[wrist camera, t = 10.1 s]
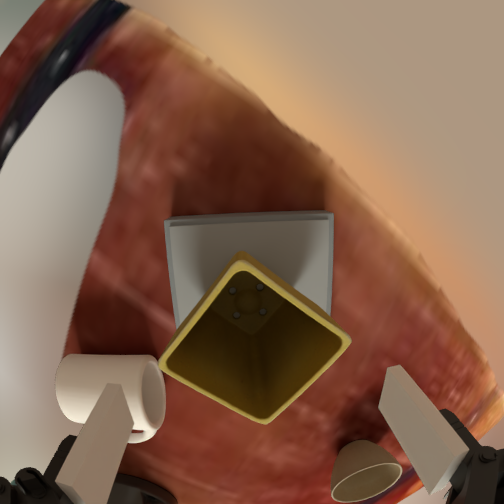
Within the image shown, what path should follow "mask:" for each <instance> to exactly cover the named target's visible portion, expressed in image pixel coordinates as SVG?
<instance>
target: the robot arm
mask: <svg viewBox="0 0 504 504" xmlns="http://www.w3.org/2000/svg"><path fill="white" fill-rule="evenodd" d="M378 408H379V410H380V411H381V413H382V415H383V416H384V418H385V420H386V421H387V423H388V425H389V426H390V428H391V430H392V431H393V433H394V435H395V436H396V438H397V440H398V442H399V443H400V445H401V447H402V448H403V450H404V452H405V453H406V455H407V457H408V459H409V460H410V462H411V464H412V465H413V467H414V469H415V471H416V472H417V474H418V476H419V478H420V479H421V481H422V483H423V484H424V486H425V488H426V490H427V492H428V493H429V494H430V495H431V494H433V493H435V492H437V491H440V490H442V489H444V488H445V486H446V485H447V483H448V482H449V481H450V482H451V484H452V487H451V488H450V489H449V490H448V492H447V493H446V494H445V496H444V499H446V497H447V496H448V498H447V501H446V504H504V449H500V450H495V449H494V448H493V447H489V446H481V445H480V444H479V443H478V442H477V440H476V439H475V438H474V437H473V436H472V434H471V433H470V432H469V431H468V430H467V428H466V427H464V425H463V424H462V422H460V420H459V419H458V418H457V417H456V415H455V414H454V413H452V412H450V411H449V410H447V409H442V410H440V411H438V410H437V408H436V407H435V406H434V405H433V403H432V402H431V401H430V400H429V399H428V397H427V396H426V395H425V394H424V393H423V391H422V390H421V389H420V388H419V387H418V385H417V384H416V383H415V382H414V381H413V379H412V378H411V377H410V376H409V375H408V374H407V372H406V371H405V370H404V369H403V368H402V367H401V365H398V366H393V367H388V368H387V372H386V377H385V381H384V386H383V390H382V394H381V398H380V402H379V406H378ZM133 426H134V421H133V418H132V415H131V413H130V410H129V407H128V404H127V401H126V398H125V395H124V392H123V389H122V385H121V384H113V383H107V385H106V386H105V388H104V390H103V392H102V393H101V395H100V397H99V399H98V400H97V402H96V404H95V406H94V408H93V409H92V411H91V413H90V415H89V417H88V418H87V420H86V422H85V424H84V426H83V428H82V429H81V431H80V433H79V435H78V436H73V435H69V436H67V437H66V438H65V439H64V440H63V441H62V442H61V444H60V445H59V447H58V451H56V453H55V455H54V457H53V458H52V460H51V462H50V464H49V466H48V467H47V469H46V471H45V473H44V475H42V474H41V473H40V472H39V471H38V470H37V469H35V468H31V467H28V468H24V469H21V470H20V471H19V472H18V473H17V474H16V476H15V479H14V480H13V481H12V482H11V483H10V482H9V481H8V480H7V479H5V478H4V477H0V504H178V503H177V501H176V499H175V498H174V497H173V496H172V495H171V494H170V493H169V492H167V491H166V490H164V489H162V488H161V487H159V486H157V485H155V484H153V483H150V482H148V481H145V480H142V479H140V478H136V477H133V476H129V475H124V474H118V473H117V471H118V468H119V465H120V462H121V459H122V457H123V454H124V451H125V448H126V445H127V442H128V440H129V437H130V434H131V431H132V429H133Z"/></svg>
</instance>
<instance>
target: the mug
mask: <svg viewBox="0 0 504 504" xmlns="http://www.w3.org/2000/svg"><path fill="white" fill-rule="evenodd" d="M107 383H113V384H121V385H122V389H123V392H124V395H125V398H126V401H127V404H128V407H129V410H130V413H131V415H132V418H133V421H134V426H133V429H135V430H144V432H142V433H131V434H130V437H129V440H128V442H127V443H139V442H143V441H146V440H148V439H150V438H151V437H153V436H154V434H155V433H156V431H157V430H158V429H159V428H160V427H161V425H162V423H163V420H164V416H165V410H166V391H165V383H164V378H163V374H162V370H161V369H160V368H159V367H158V361H157V360H156V359H155V358H154V357H153V356H151V355H91V354H69V355H67V356H66V357H64V358H63V360H62V361H61V362H60V364H59V366H58V369H57V373H56V377H55V392H56V397H57V401H58V404H59V407H60V408H61V410H62V412H63V414H64V415H65V416H66V417H67V418H68V419H69V420H71V421H73V422H77V423H83V424H85V422H86V420H87V418H88V417H89V415H90V413H91V411H92V409H93V408H94V406H95V404H96V402H97V400H98V399H99V397H100V395H101V393H102V392H103V390H104V388H105V386H106V385H107Z"/></svg>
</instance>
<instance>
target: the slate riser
mask: <svg viewBox="0 0 504 504" xmlns="http://www.w3.org/2000/svg"><path fill="white" fill-rule="evenodd" d="M164 227H165V239H166V249H167V259H168V268H169V277H170V286H171V293H172V301H173V308H174V315H175V322H176V329H178V327H179V326H180V325H181V323H182V322H183V321H184V319H185V318H186V317H187V316H188V315H189V313H190V312H191V311H192V309H193V308H194V307H195V306H196V304H197V303H198V302H199V301H200V299H201V298H202V297H203V295H204V294H205V293H206V292H207V290H208V289H209V288H210V286H211V285H212V284H213V283H214V281H215V280H216V279H217V277H218V276H219V275H220V273H221V272H222V271H223V269H224V268H225V267H226V265H227V264H228V263H229V261H230V260H231V259H232V257H233V256H234V255H235V254H236V253H237V252H239V251H245V252H247V253H248V254H250V255H251V256H252V257H254V258H255V259H256V260H257V261H259V262H260V263H261V264H263V265H264V266H265V267H267V268H268V269H269V270H270V271H272V272H273V273H274V274H276V275H277V276H278V277H280V278H281V279H282V280H284V281H285V282H286V283H288V284H289V285H291V286H292V287H293V288H295V289H296V290H297V291H299V292H300V293H302V294H303V295H304V296H306V297H307V298H309V299H310V300H311V301H313V302H314V303H316V304H317V305H318V306H320V307H321V308H322V309H323V310H324V311H325V312H326V313H327V314H328V315H329V316H330V312H331V295H332V273H333V234H334V213H331V212H328V211H326V210H313V211H277V212H250V213H228V214H208V215H191V216H175V217H170V218H168V219H166V220H164ZM257 289H258V290H262V289H263V285H262V284H258V285H257ZM229 291H230V293H232V294H234V293H236V289H235V288H230V290H229ZM265 313H266V310H265V309H261V310H260V314H265ZM233 316H234V317H235V318H238V317H239V316H240V314H239V313H238V312H235V313H234V314H233Z"/></svg>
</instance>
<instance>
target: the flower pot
mask: <svg viewBox="0 0 504 504" xmlns="http://www.w3.org/2000/svg"><path fill="white" fill-rule="evenodd" d="M258 284H262V285H263V289H262V290H258V289H257V285H258ZM230 288H235V289H236V293H234V294H232V293H230V291H229V290H230ZM261 309H265V310H266V313H265V314H260V310H261ZM235 312H238V313H239V314H240V316H239V317H238V318H235V317H234V316H233V314H234V313H235ZM351 342H352V340H351V337H350V336H349V335H348V334H347V333H346V332H345V331H344V330H343V329H342V328H341V327H340V326H339V325H338V324H337V323H336V322H335V321H334V320H333V319H332V318H331V317H330V316H329V315H328V314H327V313H326V312H325V311H324V310H323V309H322V308H321V307H320V306H318V305H317V304H316V303H314V302H313V301H311V300H310V299H309V298H307V297H306V296H304V295H303V294H302V293H300V292H299V291H297V290H296V289H295V288H293V287H292V286H291V285H289V284H288V283H286V282H285V281H284V280H282V279H281V278H280V277H278V276H277V275H276V274H274V273H273V272H272V271H270V270H269V269H268V268H267V267H265V266H264V265H263V264H261V263H260V262H259V261H257V260H256V259H255V258H254V257H252V256H251V255H250V254H248V253H247V252H245V251H239V252H237V253H236V254H235V255H234V256H233V257H232V259H231V260H230V261H229V263H228V264H227V265H226V267H225V268H224V269H223V271H222V272H221V273H220V275H219V276H218V277H217V279H216V280H215V281H214V283H213V284H212V285H211V286H210V288H209V289H208V290H207V292H206V293H205V294H204V295H203V297H202V298H201V299H200V301H199V302H198V303H197V304H196V306H195V307H194V308H193V309H192V311H191V312H190V313H189V315H188V316H187V317H186V318H185V319H184V321H183V322H182V323H181V325H180V326H179V327H178V329H177V330H176V332H175V334H174V335H173V337H172V338H171V340H170V342H169V343H168V345H167V347H166V348H165V350H164V352H163V353H162V355H161V357H160V358H159V361H158V367H159V368H160V369H161V370H162V371H163V372H165V373H167V374H168V375H170V376H171V377H173V378H175V379H176V380H178V381H180V382H182V383H184V384H186V385H187V386H189V387H191V388H193V389H195V390H196V391H198V392H200V393H202V394H204V395H206V396H208V397H210V398H212V399H214V400H215V401H217V402H219V403H221V404H223V405H225V406H226V407H228V408H230V409H232V410H233V411H235V412H237V413H239V414H241V415H243V416H245V417H247V418H249V419H251V420H253V421H256V422H258V423H262V424H268V423H269V422H271V421H272V420H273V419H274V418H276V417H277V416H278V415H279V414H280V413H281V412H282V411H283V410H285V409H286V408H287V407H288V406H289V405H290V404H291V403H292V402H293V401H294V400H295V399H296V398H297V397H298V396H300V395H301V394H302V393H303V392H304V391H305V390H306V389H307V388H308V387H309V386H310V385H311V384H312V383H313V382H314V381H315V380H316V379H317V378H318V377H319V376H320V375H321V374H322V373H323V372H324V371H325V370H327V369H328V368H329V367H330V366H331V365H332V364H333V363H334V362H335V360H336V359H337V358H338V357H339V356H340V355H341V354H342V353H343V352H344V351H345V350H346V349H347V347H348V346H349V345H350V344H351Z"/></svg>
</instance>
